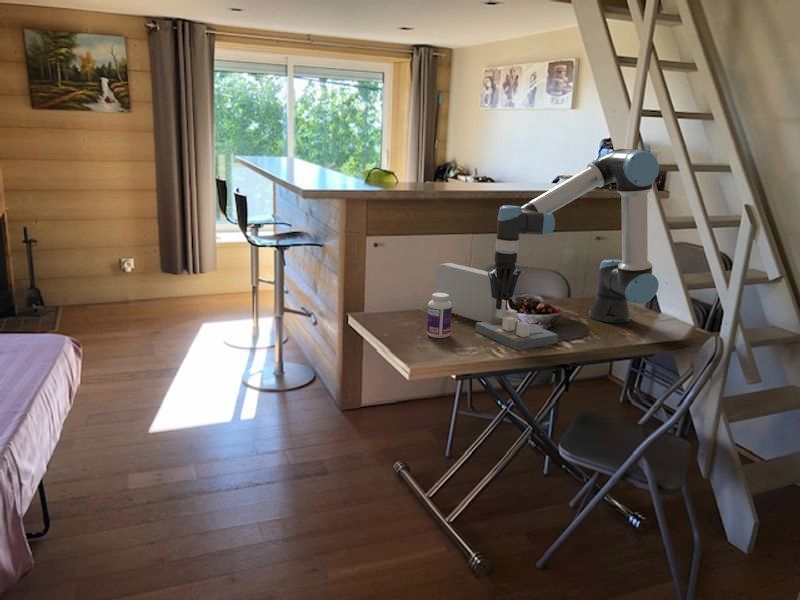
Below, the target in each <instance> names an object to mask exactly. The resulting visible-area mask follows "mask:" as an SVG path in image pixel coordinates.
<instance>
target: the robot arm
mask: <svg viewBox="0 0 800 600" xmlns="http://www.w3.org/2000/svg"><path fill="white" fill-rule="evenodd" d="M659 173H660V164H659V162H658V159H657V158H656V156H655V155H654V154H653V153H652V152H650V151H647V150H642V149H626V148H617V149H614V150H612V151H609V152H607V153H606V154H604V155H602V156H601V157H599V158H596V160H593V161H591V162H590V163H588V164H587V166H586V168H585V169H584V170H581V171H580V172H578V173H577V174H575V175H574V176H573V175H572V176H571V177H569V178H568V179H566V180H565V181H563V182H561V183H559V184H558V185H556V186H555V187H553V188H551V189H550V190H548V191H546V192H544V193H543V194H541V195H539V196H538V197H536V198H534V199H532V200H531V201H529V202H526V203H525V204H523V205H522V206H519V205H509V204H508V205H502V206H500V207H499V210H498V215H497V230H496V239H495V250H496V251H495V253H494V263H495V265H494V267H493V270H491V271H487V272H488V276H489V278H490V285H491V294H492V298H495V299H496V309H497V314H496V317H498V318H499V320H500V319H503V317H505V310H507V307H508V301H509V302H510V299H511V298H513V296H514V293H515V289H516V285H517V282H518V279H519V277H520V276H521V272H522V271H521V270H519V269H517V266H516V264H517V263H518V262H517V261H518V251H519V241H520V235H531V236H532V235H537V236H538V235H540V236H545V235H551V234H553V232H554V230H555V226H556V220H555V216H554V214H553V213H554V212H556V211H558V210H559V209H561V208H562V207H564V206H567V205H568V204H569V203H571V202H573V201H574V200H576V199H579V198H580V197H582V196H583V195H586V194H587V193H588V192H590V191H592V190H593V189H596V188H602V187H603V188H604V187H605V186H606V185H608V184H609V185H610V184H611V183H615V184H616V192H617V193H618V194H619V195H620V196H621V197H620V199H621V206H620V207H621V259H603V260H602V261H601V262H600V265H599V271H598V281H597V287H596V294H595V295H596V296H595V299H594V300H593V301H592V302H593V303H592V305H591V307H590V309H589V314H588V315H589V317H590V318H591V319H593V320H595V321H598V322H603V323H611V324H612V323H613V324H624V323H628V322H630V319H631V313H630V308H629V307H630V306H629V303H634V304H638V305H641V304H646V303H648V302H650V301H651V300H652V299H653V298H654V297H655V296H656V294H657V293H658V290H659V286H660V285H659V279H658V278H657V277H656V276H655V274H653V263H651V262H650V261H649V259H648V253H649V252H648V250H649V249H648V248H649V247H648V242H649V241H648V233H649V232H648V226H649V225H648V194H649V193H650V191H652V190H653V183H654V182H655V181H656V178H658V176H659ZM496 276H497V277H496ZM628 302H629V303H628Z"/></svg>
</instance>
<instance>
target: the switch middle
mask: <svg viewBox="0 0 800 600" xmlns="http://www.w3.org/2000/svg"><path fill="white" fill-rule="evenodd" d="M515 321H516V319H515V318H513V317H510V316H509V317H503V324H502V329H504V330H506V331H512V330H515Z"/></svg>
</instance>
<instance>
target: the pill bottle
mask: <svg viewBox="0 0 800 600" xmlns="http://www.w3.org/2000/svg"><path fill="white" fill-rule="evenodd" d="M448 299H449V295H448V294H446V293H435V292H434V293H432V295H431V300H429V302H428V303H427V320H426V321H427V322H426V333H427V334H426V335H428V336H429V337H430V338H434V339H444V338H448V337H450V335H451V326H452V313H451V312H452V304H451V302H449V301H448Z"/></svg>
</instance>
